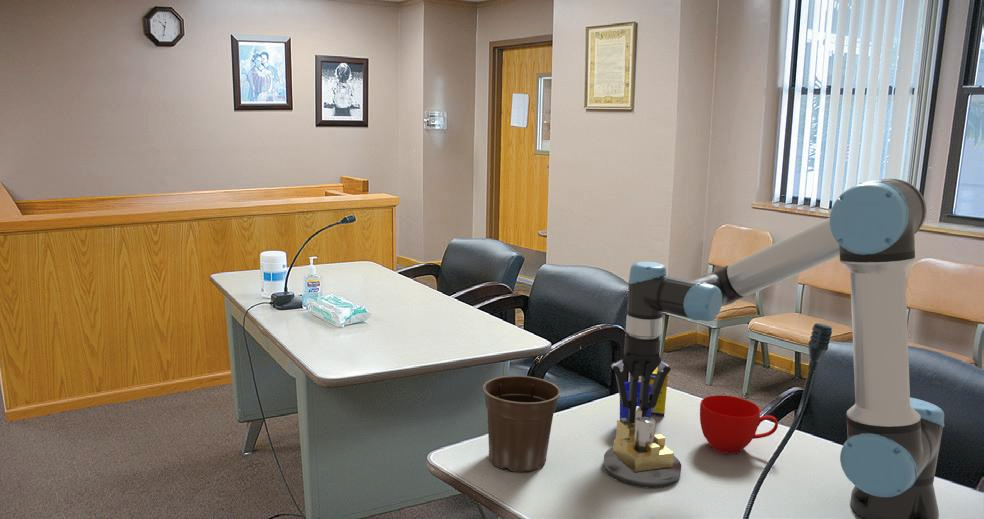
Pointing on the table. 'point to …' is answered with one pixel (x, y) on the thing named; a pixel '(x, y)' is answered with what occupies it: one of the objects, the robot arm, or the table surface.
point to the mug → (625, 410)
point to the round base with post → (646, 477)
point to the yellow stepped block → (651, 459)
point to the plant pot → (519, 420)
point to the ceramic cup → (731, 422)
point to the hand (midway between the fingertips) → (635, 436)
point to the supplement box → (660, 404)
